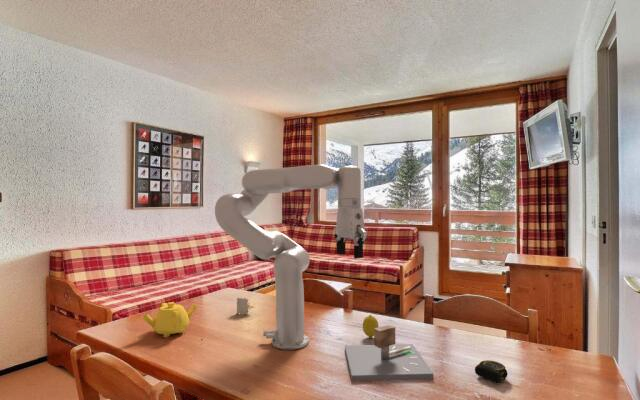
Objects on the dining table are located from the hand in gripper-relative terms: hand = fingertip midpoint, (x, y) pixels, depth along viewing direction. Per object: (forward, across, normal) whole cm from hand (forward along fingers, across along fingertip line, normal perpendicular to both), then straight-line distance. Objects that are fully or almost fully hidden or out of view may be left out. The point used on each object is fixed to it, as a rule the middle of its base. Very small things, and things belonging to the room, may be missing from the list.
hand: (349, 256), depth 118 cm
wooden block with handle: (+28, -15, -6) cm, 32 cm away
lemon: (+30, +3, -11) cm, 32 cm away
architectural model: (+31, +54, +18) cm, 65 cm away
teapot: (+31, +47, +48) cm, 74 cm away
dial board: (+30, -15, -2) cm, 34 cm away
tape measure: (+30, -38, -20) cm, 52 cm away
